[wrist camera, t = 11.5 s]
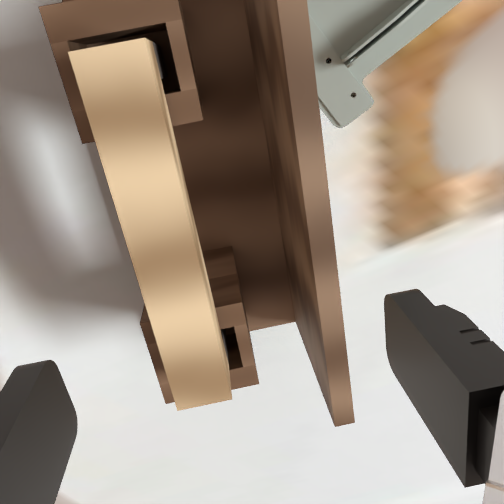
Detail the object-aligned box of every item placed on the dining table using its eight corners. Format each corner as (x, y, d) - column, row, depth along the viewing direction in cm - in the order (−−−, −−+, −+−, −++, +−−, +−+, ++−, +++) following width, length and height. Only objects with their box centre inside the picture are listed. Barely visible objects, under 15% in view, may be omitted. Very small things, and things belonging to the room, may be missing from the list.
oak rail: (105, 56, 24) (67, 51, 17) (160, 45, 24) (144, 37, 18) (182, 335, 31) (177, 410, 24) (225, 326, 31) (231, 399, 25)
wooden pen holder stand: (69, -1, 29) (-35, -54, 16) (253, -36, 30) (294, -114, 17) (168, 335, 39) (152, 466, 26) (304, 306, 40) (354, 422, 27)
